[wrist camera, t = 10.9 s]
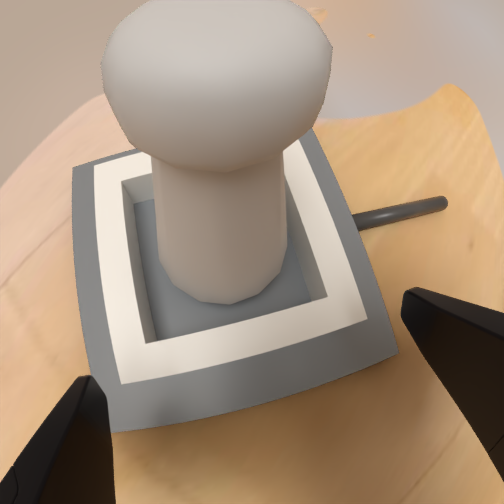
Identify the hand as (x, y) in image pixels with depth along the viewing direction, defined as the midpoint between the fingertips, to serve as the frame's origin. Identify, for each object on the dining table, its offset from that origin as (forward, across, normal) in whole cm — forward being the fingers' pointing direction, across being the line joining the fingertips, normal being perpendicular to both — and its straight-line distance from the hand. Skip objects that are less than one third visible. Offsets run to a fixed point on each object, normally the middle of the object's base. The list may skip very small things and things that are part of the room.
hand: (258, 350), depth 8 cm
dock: (+10, -4, +2) cm, 11 cm away
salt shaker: (+9, 0, +2) cm, 9 cm away
